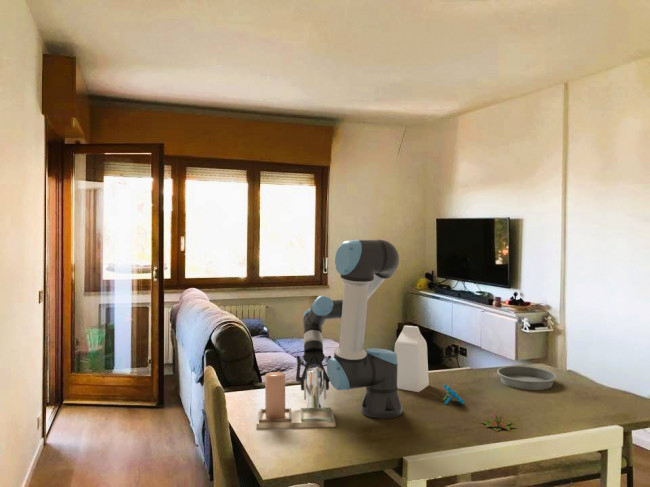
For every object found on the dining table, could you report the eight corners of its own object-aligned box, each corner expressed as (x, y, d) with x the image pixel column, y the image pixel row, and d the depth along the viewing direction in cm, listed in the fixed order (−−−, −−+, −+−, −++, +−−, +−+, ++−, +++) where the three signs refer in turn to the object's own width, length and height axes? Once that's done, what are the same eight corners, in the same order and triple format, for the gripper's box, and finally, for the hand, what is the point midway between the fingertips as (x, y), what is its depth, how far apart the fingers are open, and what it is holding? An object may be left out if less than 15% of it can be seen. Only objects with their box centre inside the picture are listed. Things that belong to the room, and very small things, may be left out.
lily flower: (473, 423, 191) (473, 410, 191) (501, 419, 195) (501, 406, 195) (495, 435, 180) (495, 421, 180) (524, 430, 184) (524, 417, 184)
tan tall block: (288, 415, 193) (288, 373, 193) (278, 421, 187) (278, 378, 186) (272, 412, 196) (272, 371, 196) (261, 418, 190) (261, 375, 189)
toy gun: (468, 403, 205) (449, 384, 206) (458, 415, 205) (439, 396, 205) (460, 398, 216) (442, 380, 217) (450, 409, 216) (432, 391, 216)
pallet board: (332, 413, 199) (332, 406, 199) (335, 426, 186) (335, 419, 186) (258, 415, 198) (258, 408, 197) (256, 428, 185) (256, 420, 184)
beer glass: (317, 413, 200) (317, 373, 199) (302, 409, 203) (302, 370, 203) (327, 407, 205) (327, 368, 205) (312, 404, 209) (312, 366, 209)
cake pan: (494, 387, 232) (494, 377, 232) (499, 373, 255) (499, 363, 255) (557, 394, 223) (557, 383, 223) (556, 378, 246) (556, 369, 245)
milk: (392, 387, 232) (392, 327, 231) (403, 381, 241) (403, 323, 240) (418, 392, 225) (419, 329, 224) (428, 385, 235) (429, 325, 234)
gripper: (337, 349, 220) (341, 401, 204) (288, 349, 218) (288, 402, 203) (338, 338, 214) (342, 392, 199) (288, 339, 213) (288, 393, 197)
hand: (315, 397), depth 201 cm, fingers closed on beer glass, 7 cm apart
